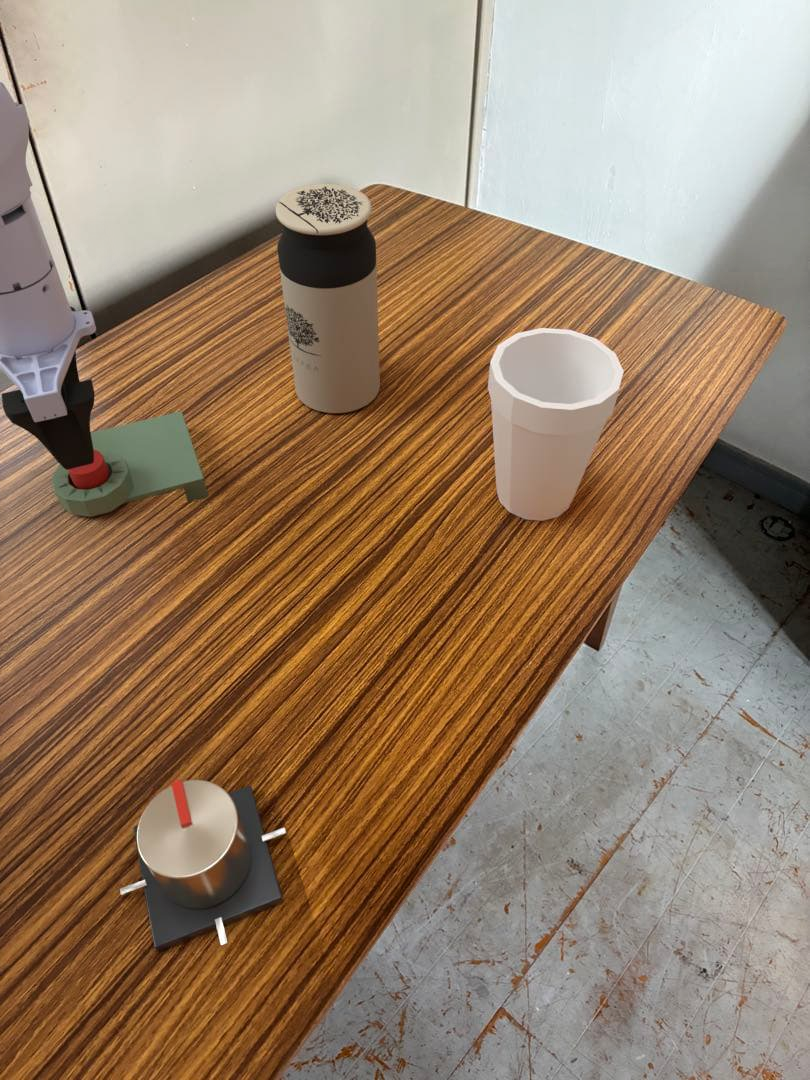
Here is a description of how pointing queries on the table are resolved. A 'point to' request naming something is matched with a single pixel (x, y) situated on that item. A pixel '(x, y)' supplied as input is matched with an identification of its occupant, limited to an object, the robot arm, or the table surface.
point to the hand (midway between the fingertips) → (73, 434)
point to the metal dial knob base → (250, 898)
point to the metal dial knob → (194, 843)
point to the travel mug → (330, 296)
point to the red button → (90, 473)
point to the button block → (136, 466)
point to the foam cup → (548, 416)
